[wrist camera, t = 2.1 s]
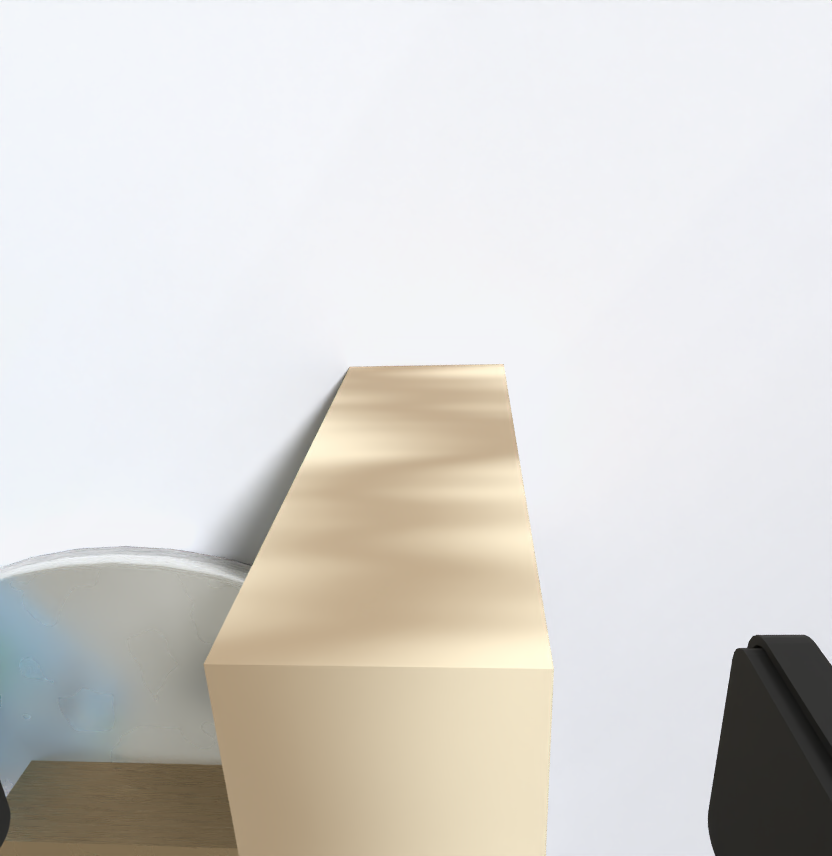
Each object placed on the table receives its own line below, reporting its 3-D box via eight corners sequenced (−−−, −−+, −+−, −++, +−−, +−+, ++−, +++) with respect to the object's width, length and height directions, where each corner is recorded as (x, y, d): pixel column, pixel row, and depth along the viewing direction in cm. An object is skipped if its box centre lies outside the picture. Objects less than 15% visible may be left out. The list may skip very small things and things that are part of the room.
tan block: (503, 364, 16) (553, 669, 7) (502, 502, 18) (543, 909, 8) (349, 366, 17) (203, 664, 7) (360, 502, 18) (246, 899, 9)
